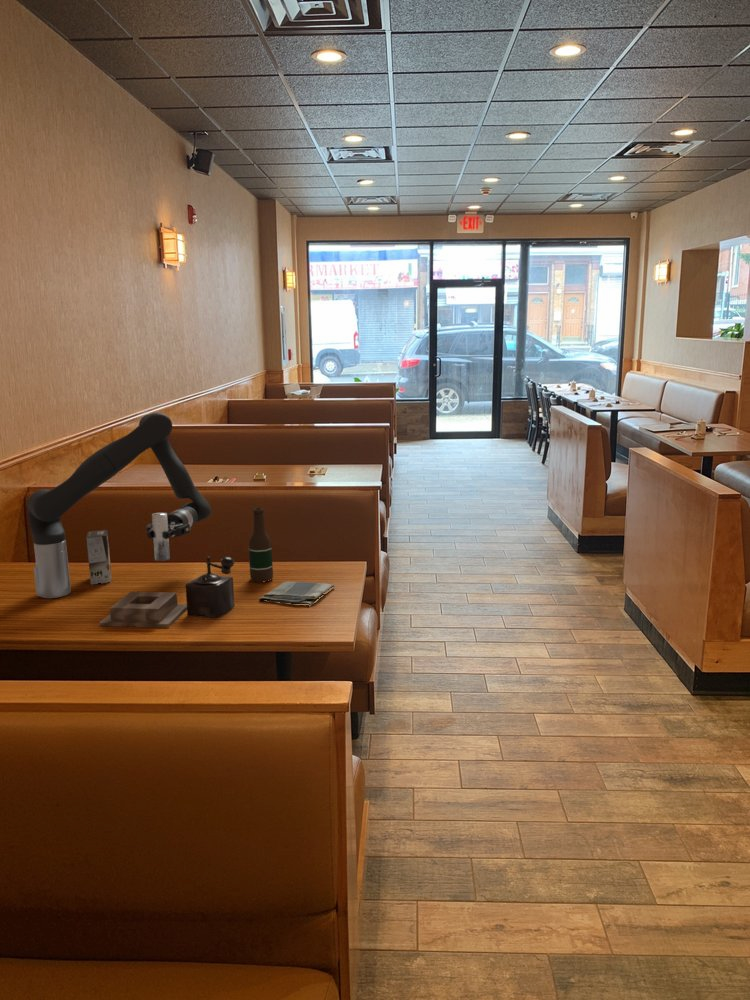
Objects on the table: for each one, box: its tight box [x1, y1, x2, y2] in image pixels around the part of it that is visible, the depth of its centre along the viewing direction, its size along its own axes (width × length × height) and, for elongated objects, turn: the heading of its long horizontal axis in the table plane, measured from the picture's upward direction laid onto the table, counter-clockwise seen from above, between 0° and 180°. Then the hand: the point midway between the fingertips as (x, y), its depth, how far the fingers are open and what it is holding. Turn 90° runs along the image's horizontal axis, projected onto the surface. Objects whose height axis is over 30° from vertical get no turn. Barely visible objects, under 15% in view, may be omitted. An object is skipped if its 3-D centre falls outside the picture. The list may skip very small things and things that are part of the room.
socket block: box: [99, 591, 187, 628], centre depth 218 cm, size 20×16×5 cm
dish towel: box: [258, 580, 335, 606], centre depth 234 cm, size 19×18×3 cm
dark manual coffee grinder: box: [185, 555, 235, 618], centre depth 219 cm, size 16×11×18 cm
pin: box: [151, 512, 171, 562], centre depth 230 cm, size 4×4×14 cm
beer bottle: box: [248, 507, 274, 583], centre depth 248 cm, size 8×8×24 cm
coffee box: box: [85, 529, 112, 585], centre depth 252 cm, size 9×6×16 cm
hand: (157, 535), depth 227 cm, fingers closed on pin, 4 cm apart
